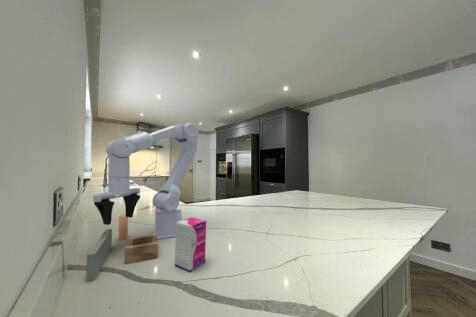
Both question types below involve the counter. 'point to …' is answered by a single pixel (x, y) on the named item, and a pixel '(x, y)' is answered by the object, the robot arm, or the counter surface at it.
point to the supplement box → (190, 243)
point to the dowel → (123, 227)
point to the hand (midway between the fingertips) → (118, 220)
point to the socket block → (141, 248)
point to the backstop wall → (98, 254)
